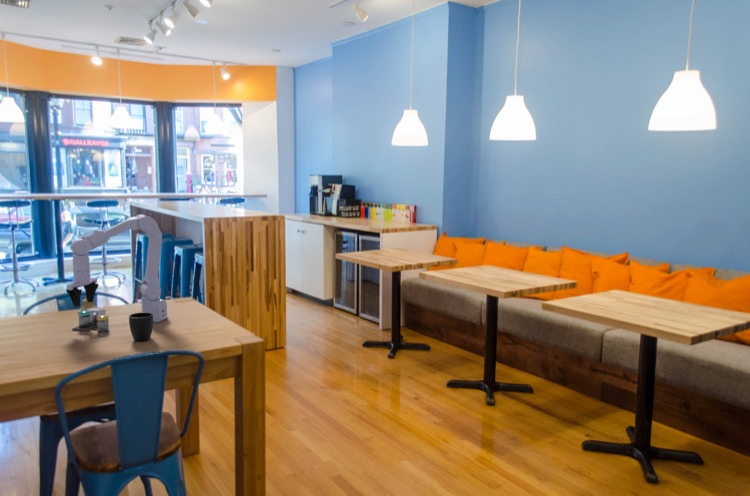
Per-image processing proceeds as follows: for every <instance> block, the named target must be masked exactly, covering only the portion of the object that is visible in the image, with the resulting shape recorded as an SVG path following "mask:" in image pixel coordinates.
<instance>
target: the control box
mask: <svg viewBox="0 0 750 496" xmlns="http://www.w3.org/2000/svg"><path fill="white" fill-rule="evenodd" d="M85 311H90V325H97V316H100V315H107V313H106V308H99V307H96V308H91V309H88V310H85Z"/></svg>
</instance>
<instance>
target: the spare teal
mask: <svg viewBox="0 0 750 496" xmlns="http://www.w3.org/2000/svg"><path fill="white" fill-rule="evenodd" d="M77 313H78V326H79V328H88V327H90V326H91V325H90V311H80V312H78V311H77Z"/></svg>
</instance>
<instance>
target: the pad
mask: <svg viewBox="0 0 750 496" xmlns="http://www.w3.org/2000/svg"><path fill="white" fill-rule="evenodd" d="M93 329H97V325H91V326H90V327H88V328H79V325H78V326H75V327H72V331H76V332H77V331H79V332H80V331H81V332H89V331H91V330H93Z"/></svg>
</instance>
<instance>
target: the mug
mask: <svg viewBox="0 0 750 496" xmlns="http://www.w3.org/2000/svg"><path fill="white" fill-rule="evenodd" d="M128 324H129V325H128V326H129V329H130V333H131V336H132V338H133V341H134V343H136V342H137V343H143V342H148V341H150V339H151V337H152V333H153V329H154V328H153V327H154V322H153V314H152V313H149V312H142V311H141V312H140V311H139V312H134V313H131V314H129V315H128Z"/></svg>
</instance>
